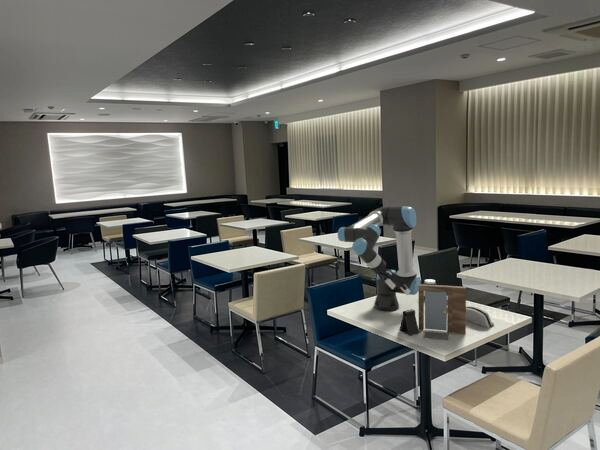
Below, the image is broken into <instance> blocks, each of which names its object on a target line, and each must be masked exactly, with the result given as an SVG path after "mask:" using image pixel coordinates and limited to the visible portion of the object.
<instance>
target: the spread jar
mask: <svg viewBox="0 0 600 450" xmlns="http://www.w3.org/2000/svg"><path fill="white" fill-rule="evenodd" d="M423 285H437V283H436V280H435V279H431V278H430V279H424V283H423ZM424 299H425V290H424Z"/></svg>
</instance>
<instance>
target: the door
mask: <svg viewBox="0 0 600 450" xmlns="http://www.w3.org/2000/svg"><path fill="white" fill-rule="evenodd" d="M424 330H433V331H446V332H447V292H443V291H426V290H425V298H424Z"/></svg>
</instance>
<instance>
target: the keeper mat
mask: <svg viewBox="0 0 600 450" xmlns="http://www.w3.org/2000/svg"><path fill="white" fill-rule="evenodd" d="M423 339H427V340H438V341H449V340H450V333H447V332H437V331H427V330H425V331H424V336H423Z"/></svg>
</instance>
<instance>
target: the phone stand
mask: <svg viewBox="0 0 600 450" xmlns="http://www.w3.org/2000/svg"><path fill="white" fill-rule="evenodd" d="M398 331H399V332H401V333H403V334H405V335H408V336H410V337H411V336H415V335H420V330H419V325H418V321H417V318H416V310H415V309H413V308H412V309H407V310H403V311H402V317H401V322H400V325H399V329H398Z"/></svg>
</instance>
